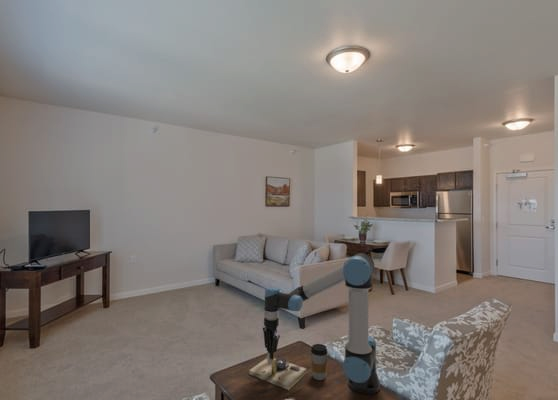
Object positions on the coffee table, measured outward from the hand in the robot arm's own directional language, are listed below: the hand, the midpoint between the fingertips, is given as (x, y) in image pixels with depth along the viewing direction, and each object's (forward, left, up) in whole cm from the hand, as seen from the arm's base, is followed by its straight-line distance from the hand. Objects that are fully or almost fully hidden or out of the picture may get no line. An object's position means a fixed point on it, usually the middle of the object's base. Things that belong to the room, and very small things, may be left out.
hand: (270, 363), depth 151 cm
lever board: (-2, -4, -6) cm, 8 cm away
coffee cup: (-21, -13, -6) cm, 26 cm away
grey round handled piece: (-3, -5, -4) cm, 6 cm away
